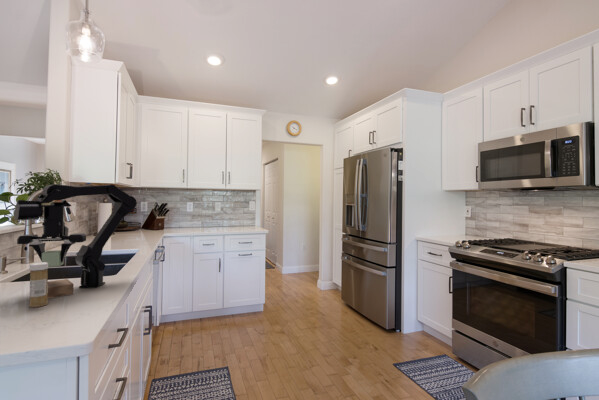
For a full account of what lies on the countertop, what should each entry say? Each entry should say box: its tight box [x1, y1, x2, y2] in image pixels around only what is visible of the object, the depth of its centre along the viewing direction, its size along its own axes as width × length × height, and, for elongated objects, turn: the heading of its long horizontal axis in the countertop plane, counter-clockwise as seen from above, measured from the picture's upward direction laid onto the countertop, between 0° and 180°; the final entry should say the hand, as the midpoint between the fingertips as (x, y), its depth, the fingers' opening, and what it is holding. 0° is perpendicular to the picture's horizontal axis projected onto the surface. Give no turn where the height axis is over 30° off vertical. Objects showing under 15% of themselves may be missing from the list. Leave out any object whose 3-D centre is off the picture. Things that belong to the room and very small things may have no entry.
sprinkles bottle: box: [29, 261, 49, 308], centre depth 98 cm, size 5×5×14 cm
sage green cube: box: [41, 249, 65, 268], centre depth 110 cm, size 5×5×5 cm
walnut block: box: [47, 278, 74, 300], centre depth 110 cm, size 10×10×4 cm
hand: (53, 262), depth 110 cm, fingers closed on sage green cube, 5 cm apart
